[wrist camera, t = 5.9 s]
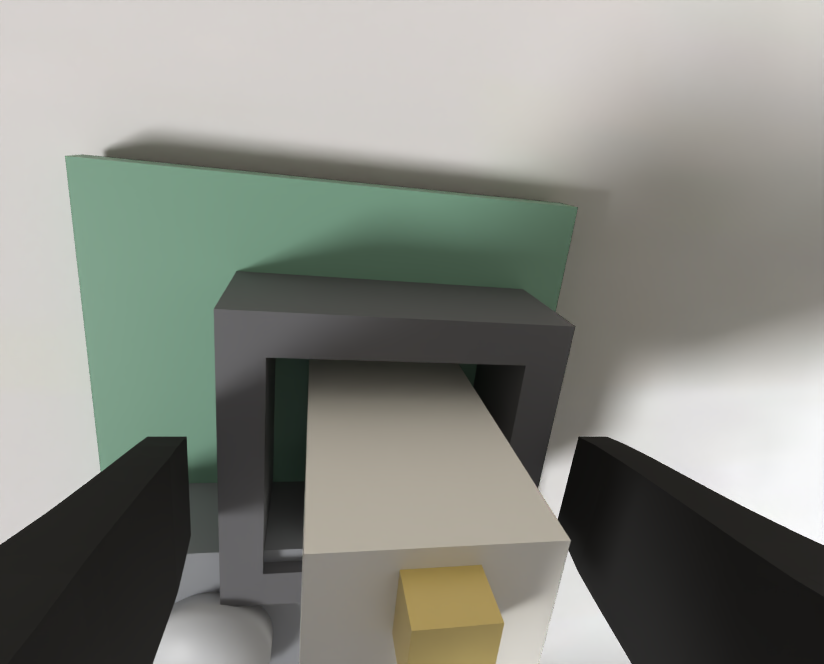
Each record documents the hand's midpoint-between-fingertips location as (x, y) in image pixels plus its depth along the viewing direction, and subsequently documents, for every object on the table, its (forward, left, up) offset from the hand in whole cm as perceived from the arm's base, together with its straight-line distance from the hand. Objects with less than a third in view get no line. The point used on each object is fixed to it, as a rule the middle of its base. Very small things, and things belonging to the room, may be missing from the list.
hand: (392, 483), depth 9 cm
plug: (0, 0, -3) cm, 3 cm away
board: (-1, +1, -4) cm, 4 cm away
